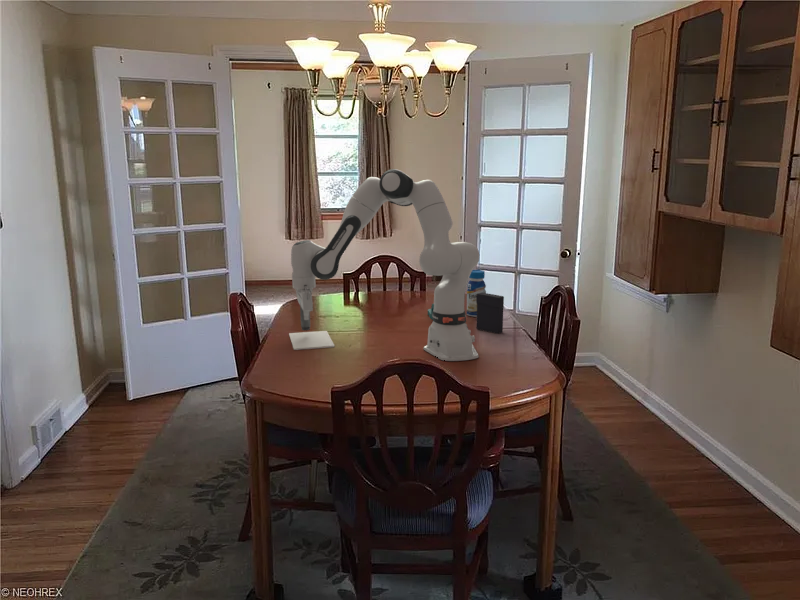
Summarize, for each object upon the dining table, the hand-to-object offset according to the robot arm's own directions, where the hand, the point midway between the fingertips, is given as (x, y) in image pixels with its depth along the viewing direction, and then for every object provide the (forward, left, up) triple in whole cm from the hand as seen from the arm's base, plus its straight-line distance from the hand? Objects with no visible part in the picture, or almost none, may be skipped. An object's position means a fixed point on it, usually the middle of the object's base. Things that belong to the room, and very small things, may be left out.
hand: (305, 318), depth 247 cm
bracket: (+18, -59, -8) cm, 63 cm away
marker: (0, 0, -5) cm, 5 cm away
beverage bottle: (+18, -77, -8) cm, 80 cm away
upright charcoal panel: (-7, -73, -8) cm, 74 cm away
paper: (-5, -1, -8) cm, 9 cm away
